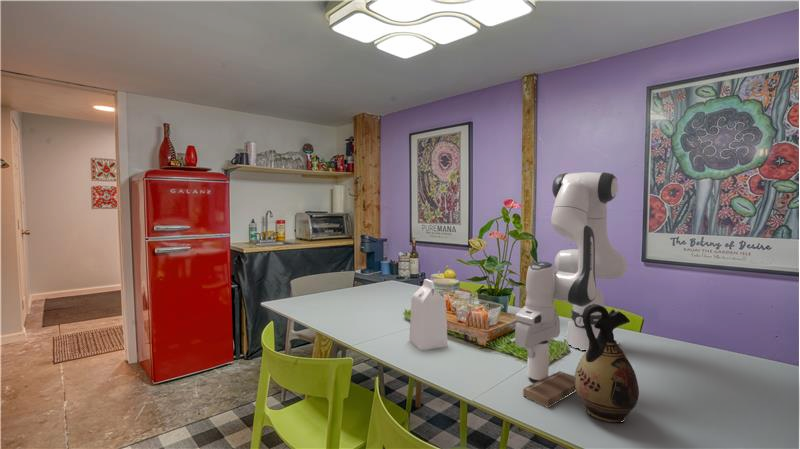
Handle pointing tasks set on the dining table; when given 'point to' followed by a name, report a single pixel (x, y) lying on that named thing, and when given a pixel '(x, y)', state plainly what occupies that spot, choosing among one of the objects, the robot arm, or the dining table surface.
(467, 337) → the ammunition clip
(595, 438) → the dining table surface
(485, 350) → the dining table surface
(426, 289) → the milk
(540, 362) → the can
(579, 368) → the ceramic jug
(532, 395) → the plank
